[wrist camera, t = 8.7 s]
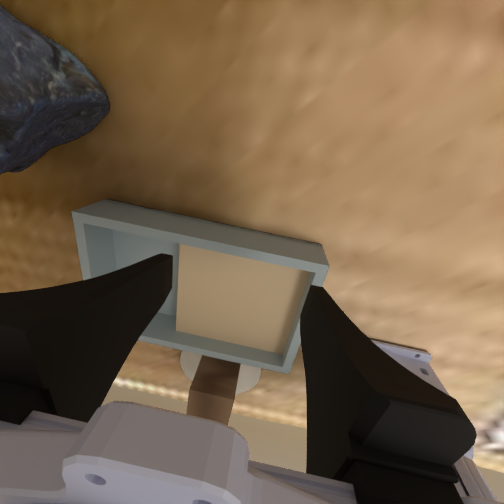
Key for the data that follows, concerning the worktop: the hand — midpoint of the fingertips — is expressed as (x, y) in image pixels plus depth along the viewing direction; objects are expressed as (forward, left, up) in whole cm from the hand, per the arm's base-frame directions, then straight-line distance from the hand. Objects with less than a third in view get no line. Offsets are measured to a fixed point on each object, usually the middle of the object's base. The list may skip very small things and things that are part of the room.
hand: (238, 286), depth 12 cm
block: (+1, +19, -9) cm, 21 cm away
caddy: (+4, +7, -10) cm, 13 cm away
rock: (+20, -7, -10) cm, 23 cm away
